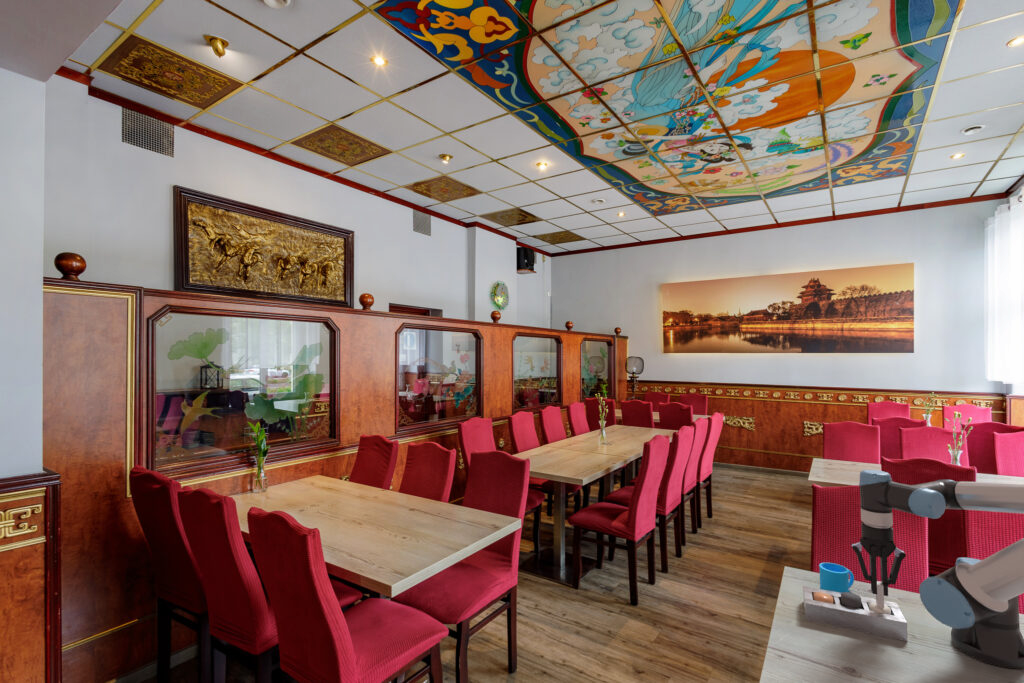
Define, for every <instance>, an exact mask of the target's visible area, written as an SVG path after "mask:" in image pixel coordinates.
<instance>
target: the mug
mask: <svg viewBox="0 0 1024 683" xmlns="http://www.w3.org/2000/svg"><path fill="white" fill-rule="evenodd" d="M818 567H819V589H822V590H828V591H833V592H839V593H842V592H849V593H850V588H851V587H852V586H853V585H854V583H855V575H854V574H853V572H852V571H851V570H850V569H848V568H847V567H845V566H844V565H842V564H838V563H835V562H834V563H833V562H821V563H819V565H818Z"/></svg>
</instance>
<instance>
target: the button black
mask: <svg viewBox="0 0 1024 683" xmlns="http://www.w3.org/2000/svg"><path fill="white" fill-rule="evenodd" d="M860 596H861V595H858V594H856V593H853V592H850V591H849V592H842V593H841V605H842V606H847V607H852V608H858V609H861V597H862V596H861V597H860Z"/></svg>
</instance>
